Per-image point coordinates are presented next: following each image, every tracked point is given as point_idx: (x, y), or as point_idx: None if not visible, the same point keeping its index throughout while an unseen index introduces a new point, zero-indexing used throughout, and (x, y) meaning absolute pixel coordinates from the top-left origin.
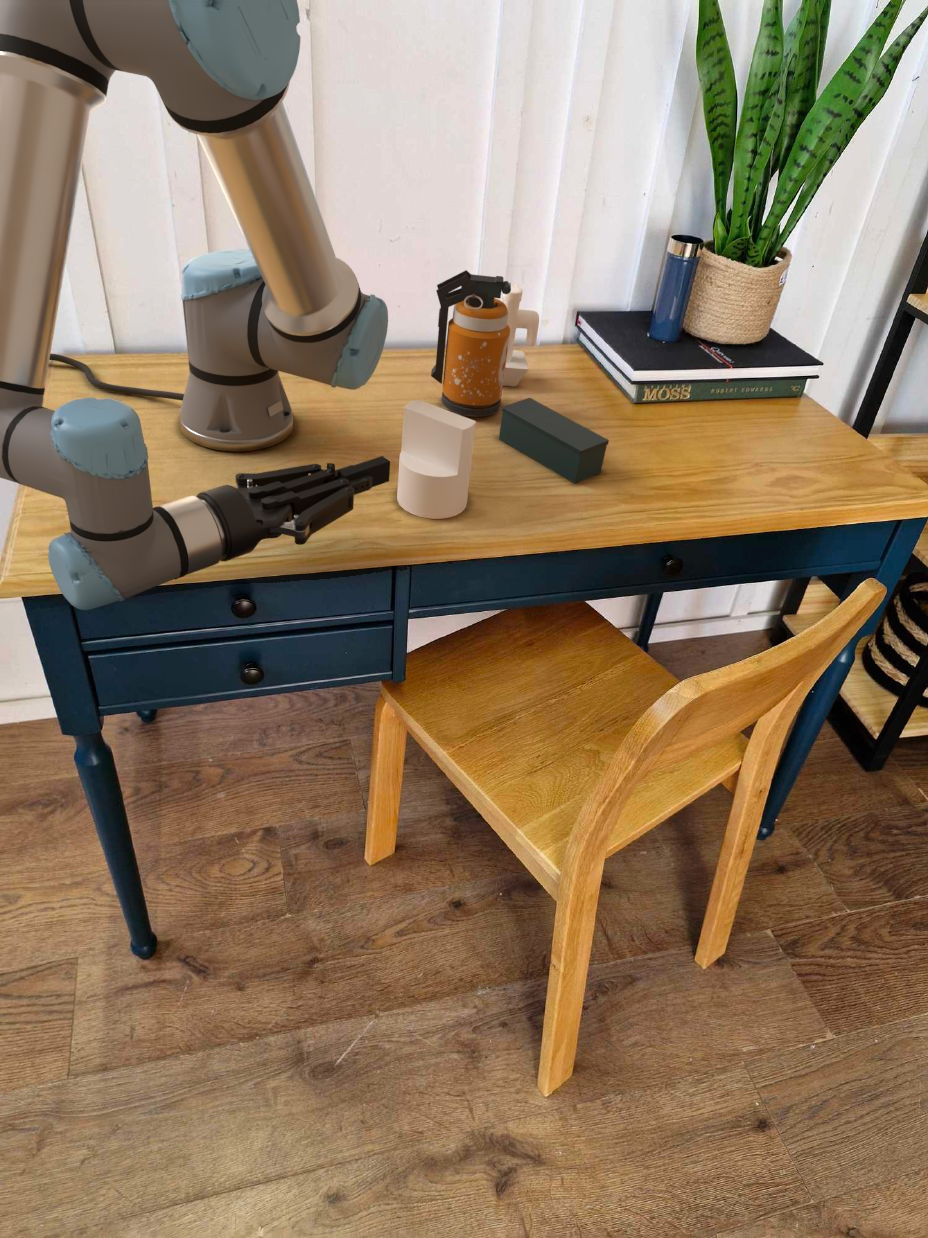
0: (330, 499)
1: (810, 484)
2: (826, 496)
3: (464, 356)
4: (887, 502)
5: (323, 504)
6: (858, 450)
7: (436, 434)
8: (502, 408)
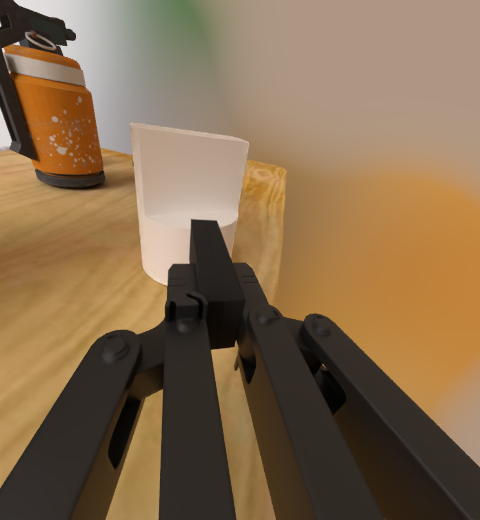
0: (410, 423)
1: (267, 172)
2: (277, 174)
3: (60, 117)
4: (286, 171)
5: (475, 489)
6: (248, 160)
7: (207, 164)
8: (133, 163)
